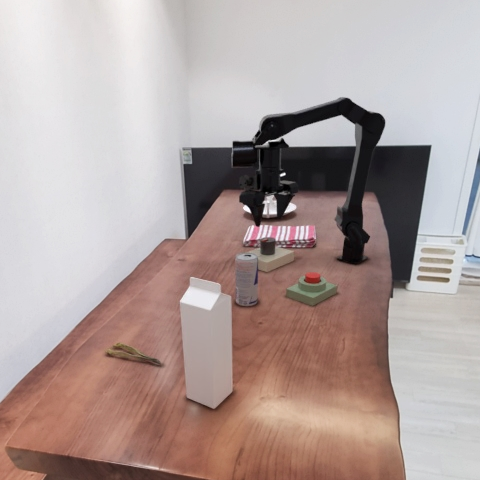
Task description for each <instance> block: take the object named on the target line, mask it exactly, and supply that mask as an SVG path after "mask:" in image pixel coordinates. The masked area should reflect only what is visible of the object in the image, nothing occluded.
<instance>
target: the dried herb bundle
mask: <svg viewBox="0 0 480 480" xmlns="http://www.w3.org/2000/svg"><path fill="white" fill-rule="evenodd" d="M112 347H113V348H114V349H118V348H120V349H124V350H127V351H128V352H129V353H128V352H125V351H118V350H117V351H116V350H111V349H110V348H107V350H105V353H107V354H108V355H113V356H118V357H122V358H131V359H136V360H141V361H146V362H150V363H155V364H158V365H159V366H161V367H162V363H161V361H160V360H159V359H157V358H155V357H151V356H150V355H149V356H148V355H146V354H145V353H143V352H142V351H140V350H139V349H137V348H136V347H133V346H132V345H128V344H126V343H122V342H116V343H115V344H112ZM130 353H134V354H130Z"/></svg>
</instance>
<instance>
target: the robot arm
mask: <svg viewBox="0 0 480 480" xmlns="http://www.w3.org/2000/svg"><path fill="white" fill-rule="evenodd" d="M340 116H342V117H343V118H345V119H346V120H347V121H348V122H350V123H352V124H353V125H354V140H355V152H354V158H353V163H352V166H351V173H350V178H349V183H348V189H347V192H346V198H345V201H344V203H343V205H342V206H338V205H337V207H336V216H335V218H334V221H335V222H336V224H335V225H336V227H337V229H339V231H340V232H341V234H342V235H343V236H344V238H343V245H342V253H341V255H340V256H338V257H336V259H337V260H338V261H342V262H346V263H349V264H352V265H358V264H361V263H363V262H365V261H367V260H369V256H366V255H364V254H365V248H366V247H365V246H366V244H368V243H369V241H370V239H371V235H370V234H369V233H368V232H367V231H366V230H365V229H364V211H363V201H364V197H365V191H366V187H367V182H368V177H369V173H370V168H371V165H372V160H373V153H374V151H375V149H376V147H377V146H378V144H379V142H380V140H381V138H382V135H383V133H384V131H385V127H386V119H385V116H383V114H381V113H379V112H375V111H373V110H367V109H365V107H362V106H361V105H359V104H357V103H355V102H354V101H353V100H352V99H351V98H349V97H346V96H340V97H338V98H337V99H334V100H330V101H327V102H324V103H320V104H316V105H313V106H310V107H307V108H303V109H300V110H297V111H294V112H292V111H291V112H282V113H281V112H279V113H271V114H266V115H265V116H263V117H262V118H261V119H260V121H259V124H258V130H257V131H256V133H255V134H254V135H253V137H252V138H251V140H232V141H231V145H232V146H231V147H232V148H231V168H232V169H237V168H238V169H239V168H240V169H241V168H253V167H254V165H255V164H257V163H258V165H259V166H258V169H256V170H255V171H254V175H253V176H249V175H248V174H244V175H241V176H239V182H238V183H239V188H240V189H244V190H243V191H241V192H240V193H239V195H238V202H239V203H240V204H242V205H244V206H245V205H246V206H247V207H248V208H249V209H250V211H251V214H250V215H251V216H252V219H253V222H254V225H256V227H260V225H262V220H263V217H262V216H263V211H264V207H265V204H264V203H263V202H264V201H266V200H265V199H266V197H267V196H271V195H274V197H273V198H275V201H276V203H277V217H276V219H277V220H279V221H280V220H282V219H283V214H284V212H285V211H286V209H287V207H288V205H289V203H292V202H291V201H292V200H293V198H294V197H296V194H297V193H299V184H298V183H297V182H296V181H289V180H281V177H280V174H283V173H285V169H284V168H283V169H282V166H281V165H282V149H289V148H290V145H289V144H288V143H287V142H286V140H285V138H284V136H286V135H288V134H290V133H291V132H294V130H296V129H298V128H302V127H306V126H310V125H313V124H316V123H319V122H322V121H326V120H330V119H333V118H336V117H340ZM270 140H276V141H271V142H269V141H270ZM266 142H268V144H267V145H266ZM258 150H259V153H258ZM258 157H259V159H258ZM258 160H259V161H258Z"/></svg>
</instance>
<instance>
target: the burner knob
mask: <svg viewBox="0 0 480 480" xmlns="http://www.w3.org/2000/svg"><path fill="white" fill-rule="evenodd" d="M275 247H276V239H275V238H272V237H265V238H261V239H260V247H259V248H260V253H261V254H262V255H273V254H275Z"/></svg>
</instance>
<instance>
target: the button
mask: <svg viewBox="0 0 480 480" xmlns="http://www.w3.org/2000/svg"><path fill="white" fill-rule="evenodd" d="M304 276H305V282H306V283H310V284H316V283H320V277H321V274H320V273H318V272H315V271H314V272H306V273H305V274H304Z"/></svg>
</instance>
